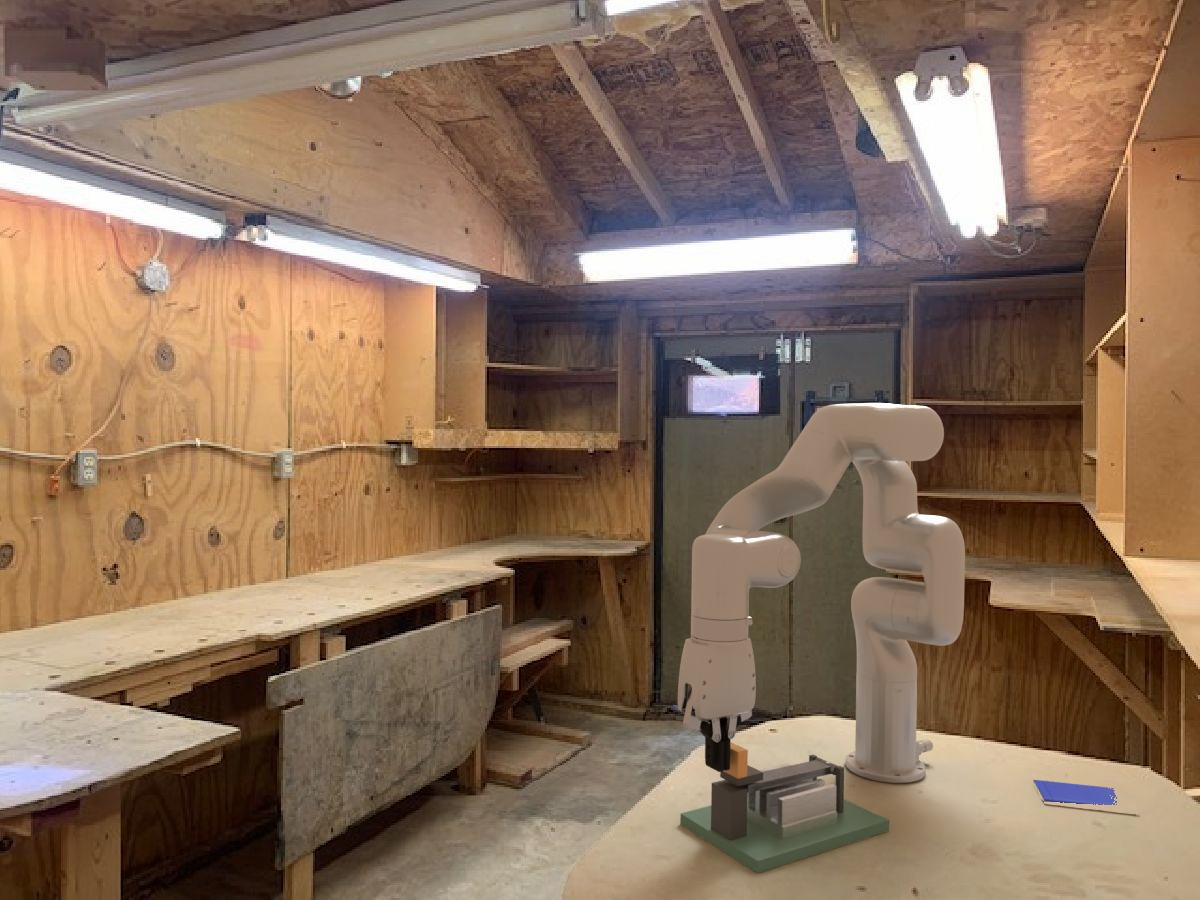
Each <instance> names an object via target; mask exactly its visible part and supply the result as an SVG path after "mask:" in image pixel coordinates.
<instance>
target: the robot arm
mask: <svg viewBox="0 0 1200 900" xmlns="http://www.w3.org/2000/svg"><path fill="white" fill-rule="evenodd" d="M937 413H938V412H936V411H935V410H934V409H932V408H931V407H928V406H925V405H911V404H910V405H908V404H907V405H906V404H897V403H896V404H894V403H885V402H883V403H882V402H864V403H838V404H837V403H835V404H829V405H825V406H823V407H821V408H818V410H816V411H815V412H814V413H813V414H812V416H810V419H809V420H808V421H807V423H806V425H805V426H804V428H803V429H802V430H801V432H800V433H799V435H798V437H797V438H796V440H795V441H794V442H793V444H792V446H791V447H790V449H789V450H788V452H787V454H785V456H784V458H783V460H782V462H780V464H779V465H778V467H777V468H775V469H774V470H773V471H771V472H770V473H767V474H765V475H764V476H762V477H761V478H759V479H758V480H756V481H754V482H753V483H751V484H750V485H748V486H747V487H745V488H744V489H741V490H740V491H739V492H738V493H736V494H735V495H734V496H732V497H731V498H730V499H728V501H727V502H726V503H724V505H723V506H722V507H721V509H720V511H718V513H717V514H716V516H715V518H714V519H713V520H712V522H711V523H710V525H709V526H708V528H707V530H706V532H705V534H703V535H699V536H697V537H696V538H695V539H694V541H693V543H692V545H691V546H692V547H691V548H692V549H691V597H690V598H691V605H690V608H691V609H690V610H691V611H690V613H691V614H690V637H689V638H686V639H685V641H684V645H683V649H682V653H681V659H680V664H679V665H680V666H679V673H678V687H677V708H678V711H679V712H681V713H683V715H684V716H683V720H682V725H683V727H684V728H687V729H689V730H692V731H693V730H695V731H699V732H700V734H701V736H702V737H703V738H704V740H705V741H704V759H705V760H704V761H705V762H704V763H705V765H706V767H708V768H710V769H712V770H715V771H716V772H718V773H720V772H722V771H723V770H725V771H726V770H729V769H730V742H731V740H733V739H734V738H735V736H736V731H737V728H738V727H739V725H740V724H741V723H742V722H744V721H746V720H749V718H751V717H752V715H753V710H752V709H754V707H755V704H756V696H757V694H756V693H757V691H756V690H757V685H756V683H757V682H756V681H757V679H756V663H755V656H754V655H755V654H754V650H753V643H752V639H751V638H750V637H749V627H750V628H751V627H752V626H753V623H754V622H753V618H752V617H751V616H749V611H750V609H749V606H750V600H749V599H750V589H751V588H765V589H766V588H768V589H769V588H770V589H773V588H781V587H784V586H785V585H787V584H789V583H790V582H792V581H793V580H794V579H795V578H796V576H797V575H798V573H799V572H800V571H799V570H800V568H801V563H802V562H801V561H802V557H801V552H800V549H799V547H798V546H797V544H796V542H794V540H792V539H791V537H788V536H786V535H784V534H782V533H779V532H774V531H764V530H761V529H762V528H763V527H765V526H767V525H769V524H771V523H774V522H775V521H779V520H781V519H785V518H789V517H792V516H796V515H799V514H803V513H807V512H808V511H811V510H814V509H816V508H820V507H821V506H822V505H824V504H825V503H826V502H828V501H829V499H830V498H831V495H832V494H833V492H834V490H835V489H836V487H837V485H838V484H839V483H840V481H841V479H842V477H843V475H844V473H845V472H846V471H847V469H848V468H849V466H850V464H851V463H853V466H854V467H855V469H856V470H857V472H858V474H859V476H860V480H861V484H862V493H863V494H862V495H863V496H862V504H863V505H862V552H863V556H864V559H865V561H866V562H867V563H868V564H869V565H871V566H873V567H875V568H878V569H882V570H888V571H895V572H900V573H901V572H903V573H911V574H918V575H919V574H920V575H922V576H923V580H924V582H923V581H914V580H913V581H912V580H910V579H902V578H894V577H887V576H885V577H884V576H883V577H882V576H876V577H874V576H873V577H870V578H866V579H863V580H861V581H860V582H858V583H857V585H856V586H855V588H854V589H853V592H852V595H851V598H850V599H851V601H850V604H851V605H850V609H851V615H852V621H853V627H854V632H855V643H856V681H855V683H856V685H855V688H856V689H855V690H856V691H855V694H856V695H855V741H854V742H855V748H854V749H855V750H854V751H852V752H850V753H848V754H846V756H845V767H846V768H847V769H848V770H849V771H850V772H852V773H853V774H856V775H858V776H860V777H862V778H866V779H869V780H871V781H872V780H873V781H877V782H883V783H893V784H902V783H903V784H906V783H913V782H917V781H920V780H922V779H924V778H925V776H926V774H927V767H926V765H925V763H923V762H922V761H921V760H920V756H921V755H922V753H927V752H931V751H932V750H934V749H933V748H934V745H933V742H932V741H931V740H930V739H928V738H926V739H921V740H917V715H918V713H917V708H918V705H917V704H918V664H917V660H916V657H915V654H914V652H913V650H912V648H911V646H910V644H909V642H908V641H910V642H914V643H915V642H916V643H921V644H926V645H933V646H941V647H943V646H948V645H952V644H953V643H955V642H956V640H958V638H959V637H960V634H961V632H962V628H963V623H964V615H965V614H964V613H965V611H964V609H965V580H966V579H965V575H966V573H965V572H966V547H965V540H964V536H963V534H962V531H961V529H960V527H959V526H958V524H957V523H956V522H955V521H954V520H952V519H951V518H949V517H946V516H941V515H934V514H933V515H932V514H920V513H919V509H918V486H917V485H918V484H917V480H916V477H915V475H914V473H913V471H912V469H911V468H910V466H909V465H908V463H907V462H924V461H928V460H930V459H932V458H933V457H935V456H936V455H937V454H938V452H939V451H940V449H941V447H942V445H943V444H944V437H945V431H944V430H945V429H944V425H943V422H942V419H941V417H940V416H939V414H937ZM731 743H732V742H731Z"/></svg>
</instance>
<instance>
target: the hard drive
mask: <svg viewBox="0 0 1200 900" xmlns="http://www.w3.org/2000/svg"><path fill="white" fill-rule="evenodd" d="M1033 783H1034V784H1035V786H1036V788H1037V790H1039V792H1040V795H1041V797H1042V799H1043V800H1044V802H1060V803H1063V802H1064V803H1076V804H1093V805H1094V804H1095V805H1096V804H1098V805H1103V804H1104V805H1112V804H1113V805H1115V803H1117V801H1115V800H1114V798H1115V797H1116V795H1115V793H1114V791H1115V790H1113V789H1114V788H1115V787H1109V788H1108V787H1107V786H1099V785H1098V786H1097V785H1090V784H1088V785H1087V784H1080V783H1079V784H1078V783H1069V782H1059V781H1049V780H1040V779H1033V781H1032V784H1033ZM1110 788H1111V789H1110ZM1110 795H1111V796H1110ZM1112 796H1113V797H1112ZM1111 797H1112V799H1111ZM1116 799H1117V797H1116ZM1114 801H1115V803H1113V802H1114ZM1116 805H1117V804H1116Z"/></svg>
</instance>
